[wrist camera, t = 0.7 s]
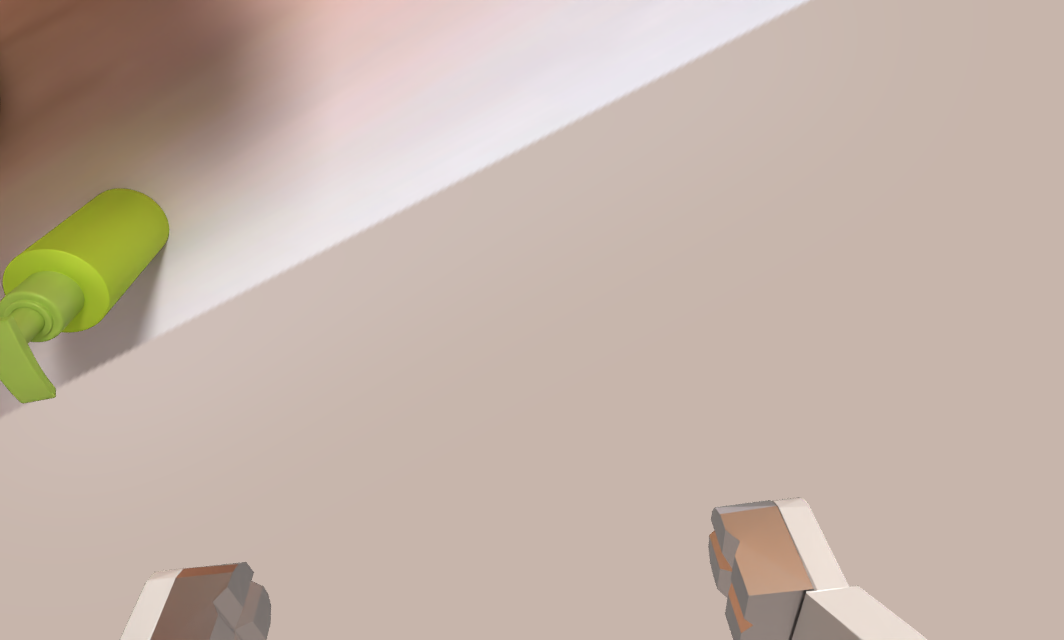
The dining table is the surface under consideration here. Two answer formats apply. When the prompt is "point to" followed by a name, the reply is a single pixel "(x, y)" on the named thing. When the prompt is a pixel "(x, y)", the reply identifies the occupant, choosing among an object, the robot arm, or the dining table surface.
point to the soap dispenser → (73, 280)
